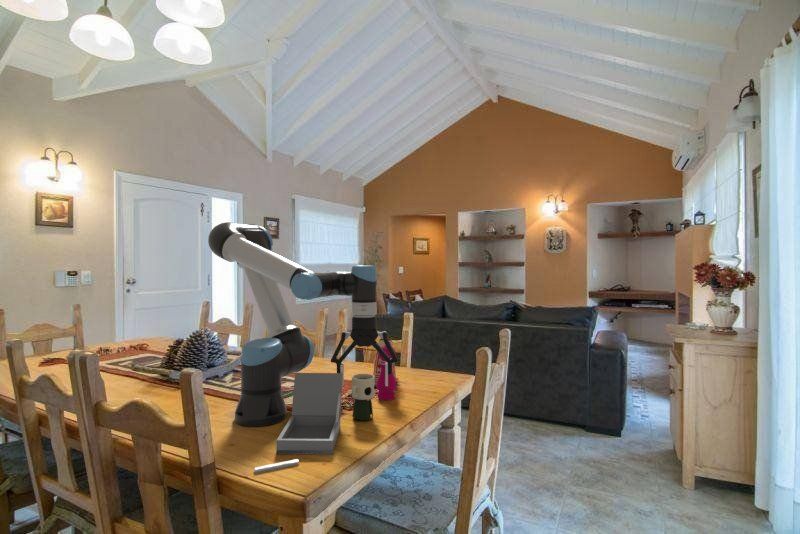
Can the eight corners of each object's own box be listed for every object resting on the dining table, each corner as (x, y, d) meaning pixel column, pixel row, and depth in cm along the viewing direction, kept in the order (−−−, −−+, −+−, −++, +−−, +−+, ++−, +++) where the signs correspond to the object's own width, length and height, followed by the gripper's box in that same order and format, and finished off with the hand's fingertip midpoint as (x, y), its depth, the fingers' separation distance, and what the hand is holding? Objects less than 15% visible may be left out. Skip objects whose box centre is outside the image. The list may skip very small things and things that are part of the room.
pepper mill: (394, 401, 150) (394, 343, 149) (373, 400, 151) (374, 342, 151) (398, 395, 157) (399, 339, 156) (378, 393, 158) (379, 338, 158)
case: (276, 454, 109) (276, 394, 109) (295, 421, 130) (295, 372, 130) (332, 454, 109) (333, 395, 109) (342, 422, 131) (342, 372, 130)
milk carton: (395, 385, 168) (396, 334, 168) (371, 385, 169) (372, 333, 168) (396, 379, 178) (396, 330, 177) (373, 378, 178) (374, 329, 177)
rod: (255, 475, 99) (255, 469, 99) (254, 472, 100) (254, 467, 100) (298, 466, 104) (298, 461, 104) (297, 464, 105) (297, 459, 105)
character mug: (362, 426, 127) (363, 382, 127) (342, 422, 131) (343, 378, 131) (381, 415, 137) (382, 373, 137) (362, 411, 140) (363, 370, 140)
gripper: (321, 317, 129) (321, 388, 130) (405, 317, 130) (405, 388, 130) (325, 314, 137) (325, 381, 137) (404, 314, 137) (404, 381, 138)
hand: (364, 385), depth 134 cm, fingers open, 13 cm apart
